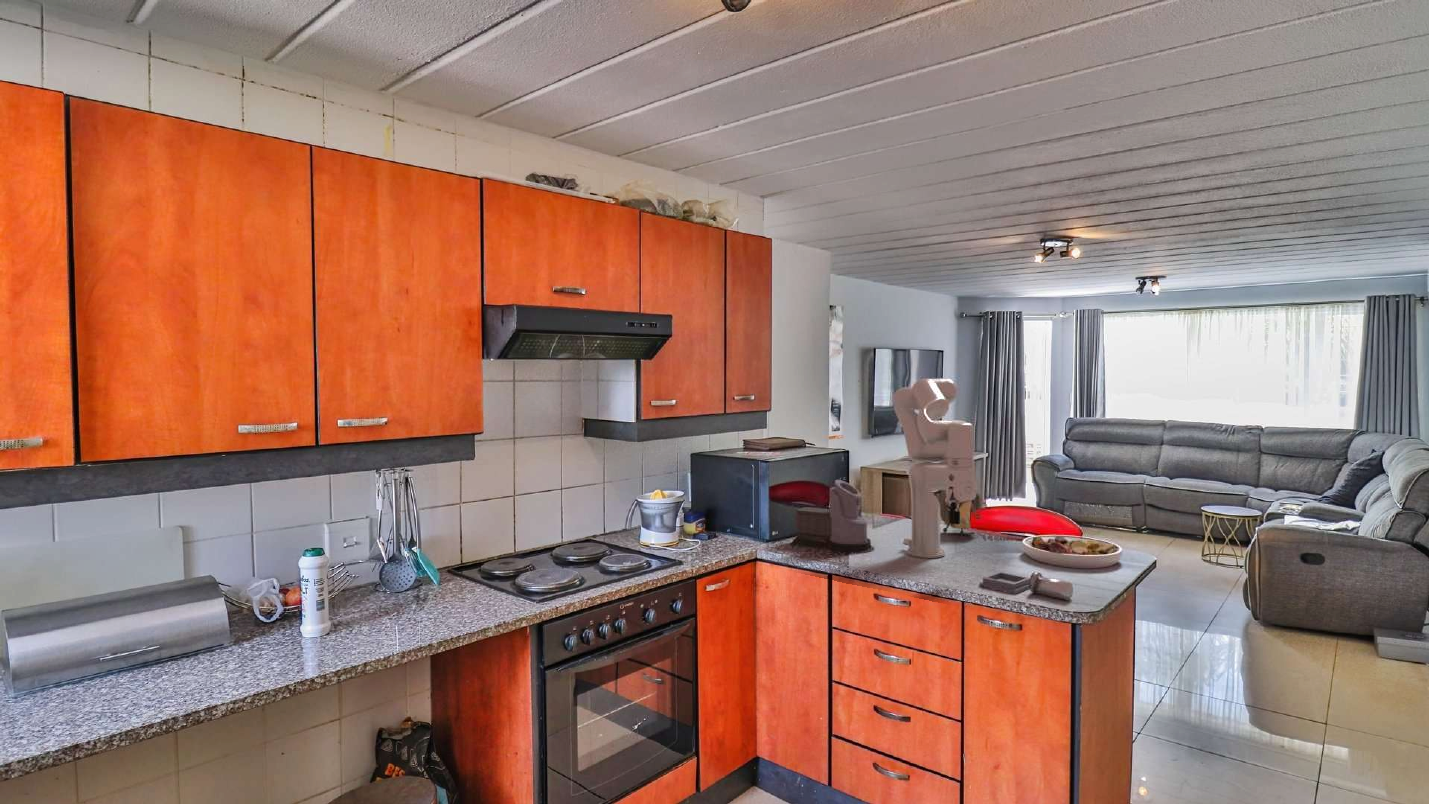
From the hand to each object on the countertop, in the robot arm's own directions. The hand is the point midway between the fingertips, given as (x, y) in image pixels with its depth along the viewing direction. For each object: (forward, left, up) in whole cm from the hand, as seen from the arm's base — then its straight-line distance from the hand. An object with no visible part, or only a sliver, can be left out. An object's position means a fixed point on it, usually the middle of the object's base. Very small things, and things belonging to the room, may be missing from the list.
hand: (960, 521), depth 226 cm
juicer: (-54, +4, -18) cm, 57 cm away
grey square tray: (+14, +2, -17) cm, 22 cm away
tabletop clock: (-33, +55, -18) cm, 66 cm away
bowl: (+12, +48, -18) cm, 52 cm away
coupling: (0, 0, -2) cm, 2 cm away
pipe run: (+27, +2, -17) cm, 32 cm away
